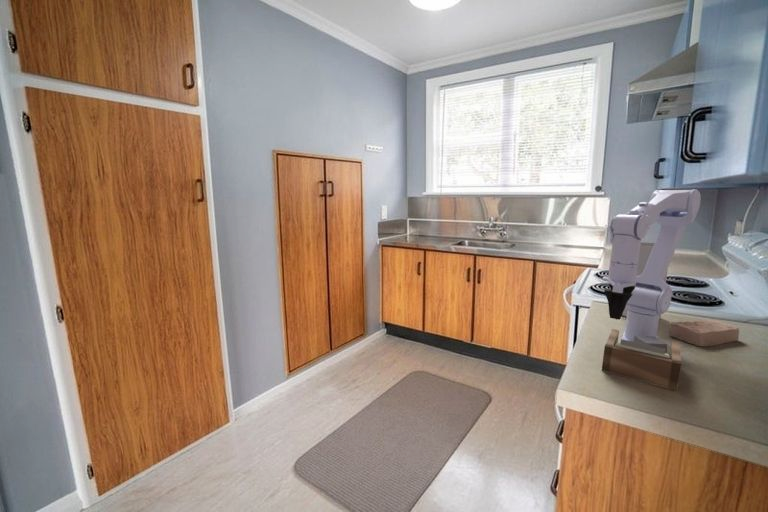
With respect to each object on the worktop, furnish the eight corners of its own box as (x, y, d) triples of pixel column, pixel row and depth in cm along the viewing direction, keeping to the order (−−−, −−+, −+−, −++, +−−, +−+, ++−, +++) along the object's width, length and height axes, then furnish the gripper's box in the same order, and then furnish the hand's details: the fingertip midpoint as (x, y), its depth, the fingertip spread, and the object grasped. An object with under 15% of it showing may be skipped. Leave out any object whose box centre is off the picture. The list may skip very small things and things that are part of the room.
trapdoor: (618, 347, 88) (619, 338, 89) (667, 358, 82) (668, 349, 82) (614, 347, 80) (616, 338, 80) (669, 360, 73) (670, 350, 74)
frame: (609, 350, 91) (612, 329, 90) (675, 366, 82) (679, 342, 81) (601, 370, 80) (604, 346, 79) (676, 390, 72) (681, 364, 71)
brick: (705, 331, 106) (708, 316, 105) (740, 342, 98) (742, 326, 97) (666, 337, 101) (669, 322, 101) (699, 348, 93) (702, 332, 93)
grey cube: (643, 360, 86) (631, 351, 91) (665, 361, 85) (652, 352, 90) (646, 343, 85) (634, 335, 90) (667, 344, 85) (654, 336, 89)
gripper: (608, 257, 94) (602, 305, 96) (600, 264, 83) (594, 318, 85) (640, 260, 89) (633, 310, 91) (636, 268, 78) (628, 325, 80)
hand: (616, 314), depth 88 cm, fingers open, 7 cm apart
